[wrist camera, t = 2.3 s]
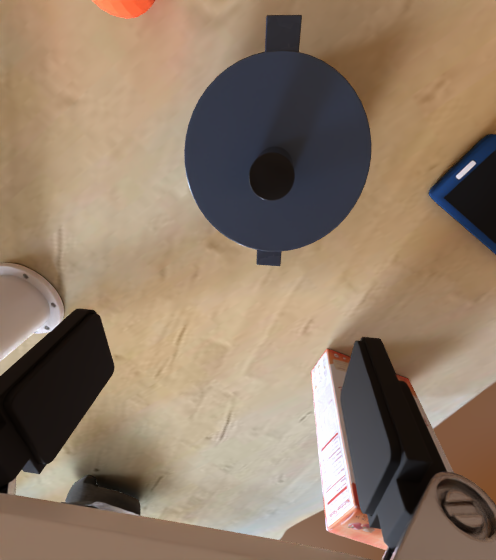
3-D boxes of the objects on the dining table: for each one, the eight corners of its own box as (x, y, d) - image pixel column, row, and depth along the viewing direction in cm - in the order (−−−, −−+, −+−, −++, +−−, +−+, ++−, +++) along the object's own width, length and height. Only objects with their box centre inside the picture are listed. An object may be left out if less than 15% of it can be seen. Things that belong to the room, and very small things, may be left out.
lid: (194, 241, 28) (173, 270, 23) (180, 53, 21) (143, 29, 15) (347, 251, 27) (363, 284, 21) (389, 54, 19) (429, 28, 14)
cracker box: (410, 375, 44) (499, 557, 25) (387, 398, 46) (452, 576, 28) (327, 344, 42) (357, 511, 24) (309, 370, 45) (324, 535, 27)
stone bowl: (47, 466, 71) (19, 510, 63) (141, 460, 68) (125, 505, 60) (89, 515, 82) (70, 558, 74) (171, 512, 79) (161, 556, 71)
